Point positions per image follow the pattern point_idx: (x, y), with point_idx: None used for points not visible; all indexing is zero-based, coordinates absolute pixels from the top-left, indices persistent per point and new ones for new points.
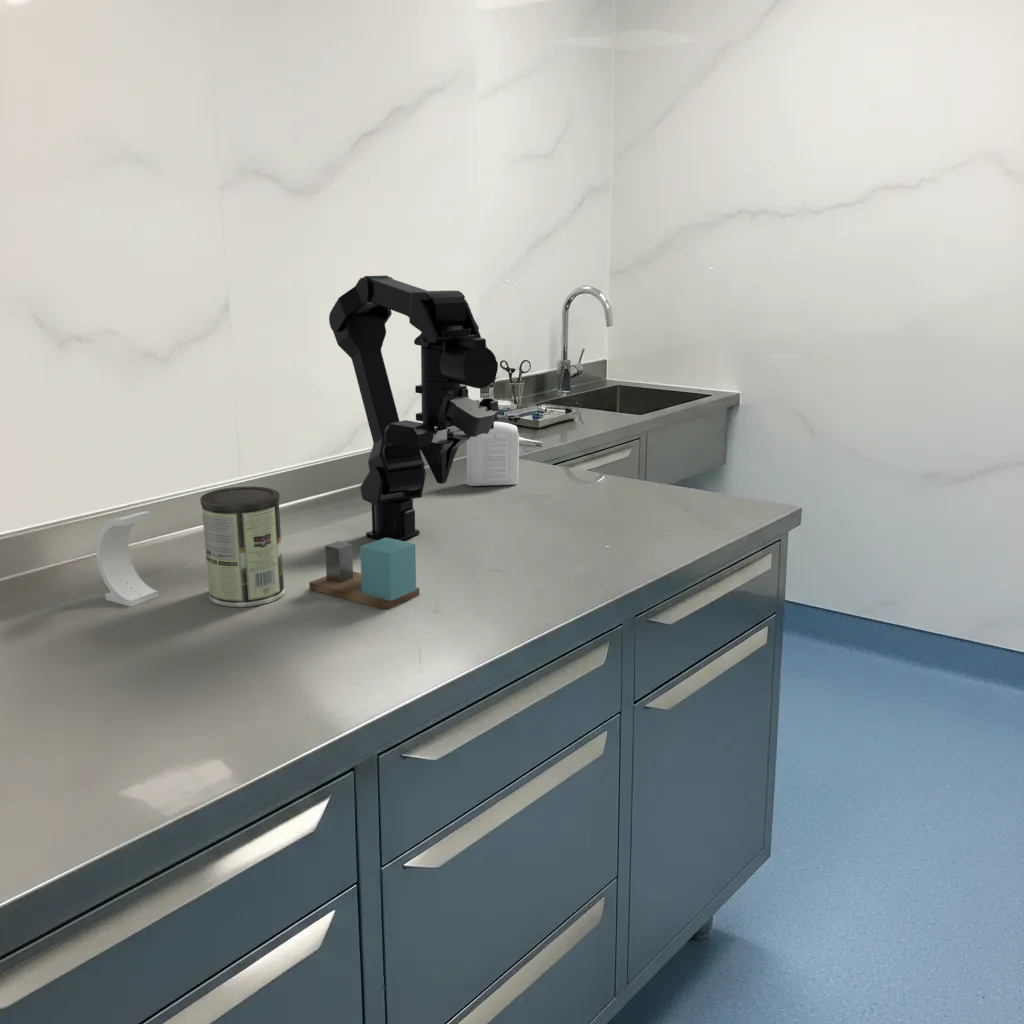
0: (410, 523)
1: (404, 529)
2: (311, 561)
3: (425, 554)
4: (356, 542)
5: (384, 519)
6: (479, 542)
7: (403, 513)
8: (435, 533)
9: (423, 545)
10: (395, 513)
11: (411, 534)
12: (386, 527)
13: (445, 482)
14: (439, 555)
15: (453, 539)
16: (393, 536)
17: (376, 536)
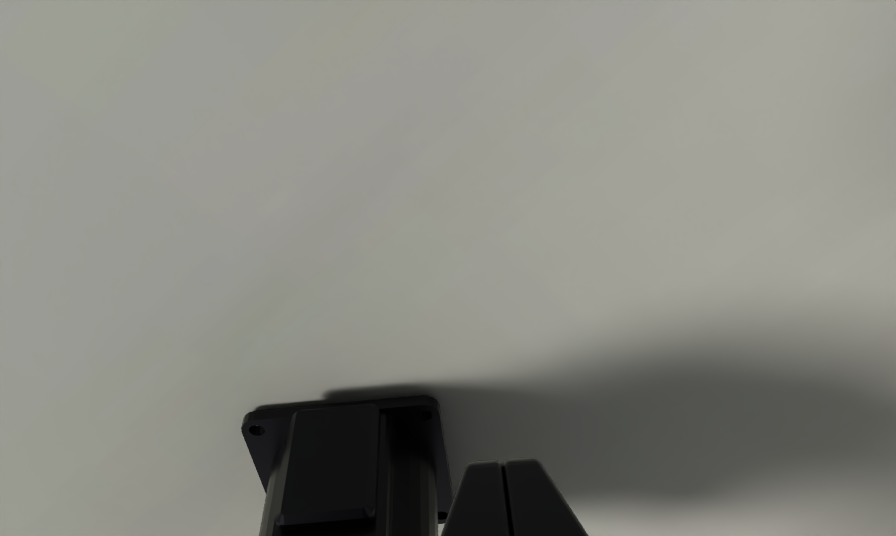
0: (326, 454)
1: (375, 434)
2: (845, 438)
3: (464, 193)
4: None
5: (432, 530)
6: (54, 127)
7: (373, 511)
8: (172, 378)
9: (356, 296)
10: (395, 533)
11: (323, 408)
12: (428, 489)
13: (476, 461)
14: (423, 126)
15: (156, 263)
16: (406, 436)
17: (449, 477)
